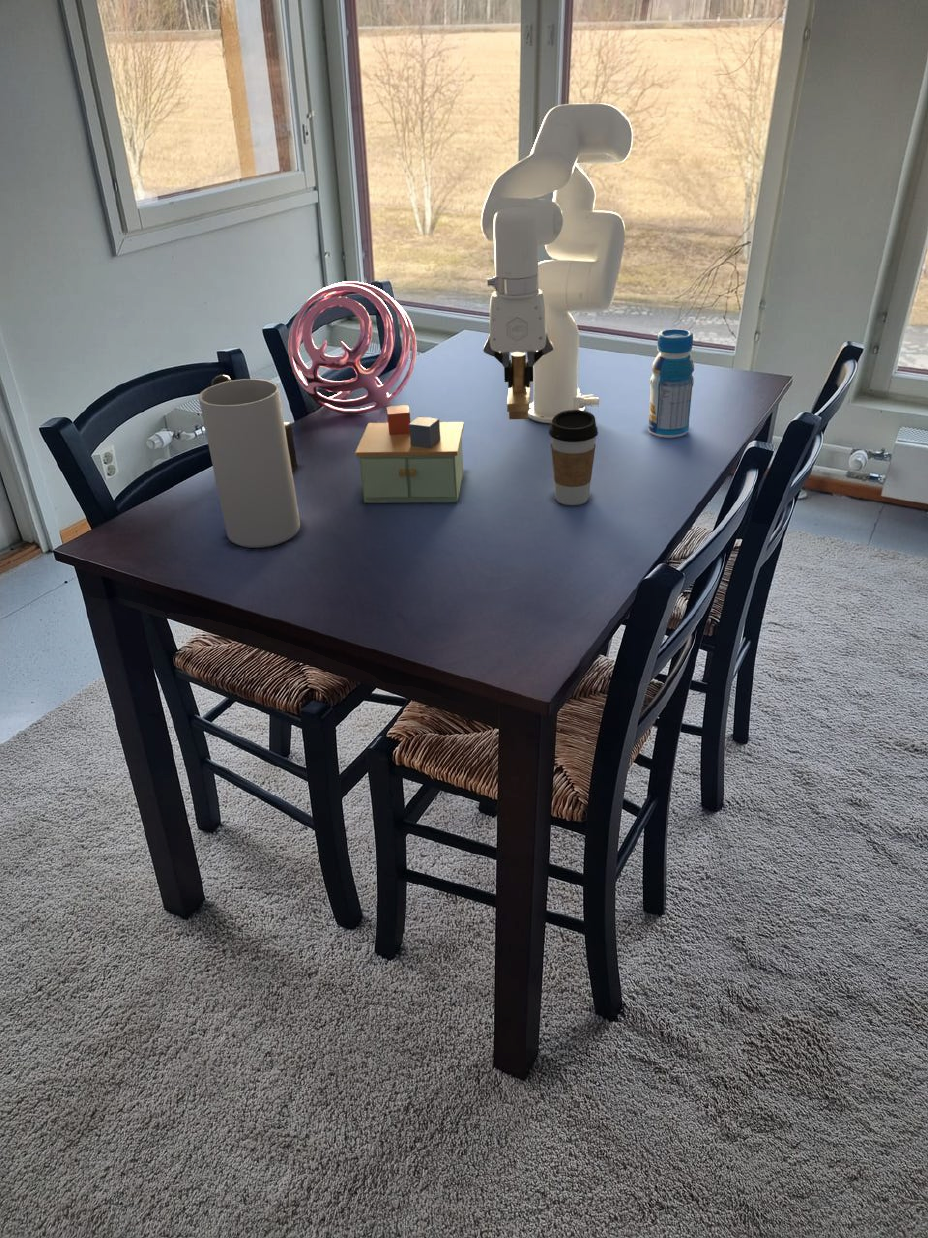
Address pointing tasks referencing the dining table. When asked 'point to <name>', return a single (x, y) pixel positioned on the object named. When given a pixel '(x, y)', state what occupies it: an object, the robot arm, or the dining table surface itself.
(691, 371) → the beverage bottle
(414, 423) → the slate block
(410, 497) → the cabinet
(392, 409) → the terracotta block
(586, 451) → the coffee cup
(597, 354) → the dining table surface
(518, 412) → the brush
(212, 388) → the cylinder vase
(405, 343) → the pink openwork sphere
